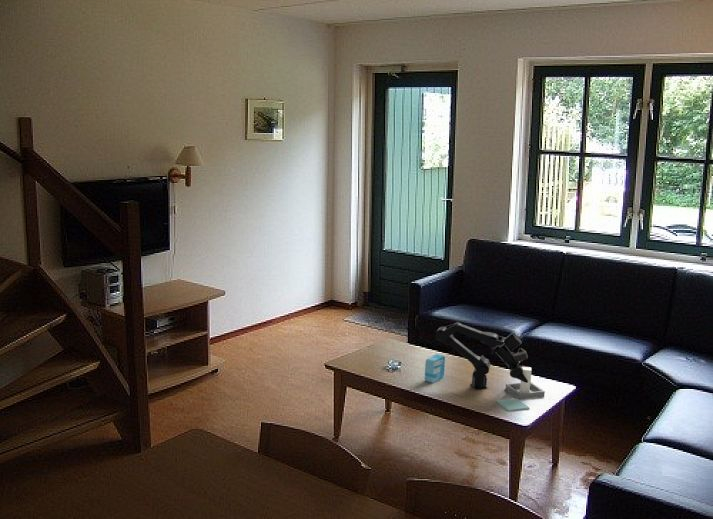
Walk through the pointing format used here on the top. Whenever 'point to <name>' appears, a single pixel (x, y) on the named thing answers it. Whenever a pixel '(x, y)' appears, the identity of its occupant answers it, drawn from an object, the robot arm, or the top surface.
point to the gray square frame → (537, 392)
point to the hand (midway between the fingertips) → (527, 378)
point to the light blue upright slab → (434, 368)
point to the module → (527, 372)
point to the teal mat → (512, 404)
